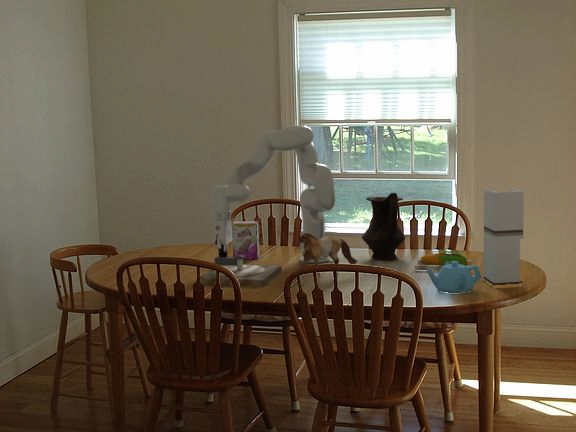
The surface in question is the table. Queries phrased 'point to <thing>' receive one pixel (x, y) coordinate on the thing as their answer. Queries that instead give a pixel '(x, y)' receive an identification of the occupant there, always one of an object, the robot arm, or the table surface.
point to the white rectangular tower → (503, 235)
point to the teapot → (455, 277)
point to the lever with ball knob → (231, 261)
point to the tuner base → (244, 275)
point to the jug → (384, 228)
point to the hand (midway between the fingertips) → (223, 260)
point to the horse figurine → (323, 250)
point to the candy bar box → (246, 239)
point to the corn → (444, 258)
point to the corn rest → (432, 266)
